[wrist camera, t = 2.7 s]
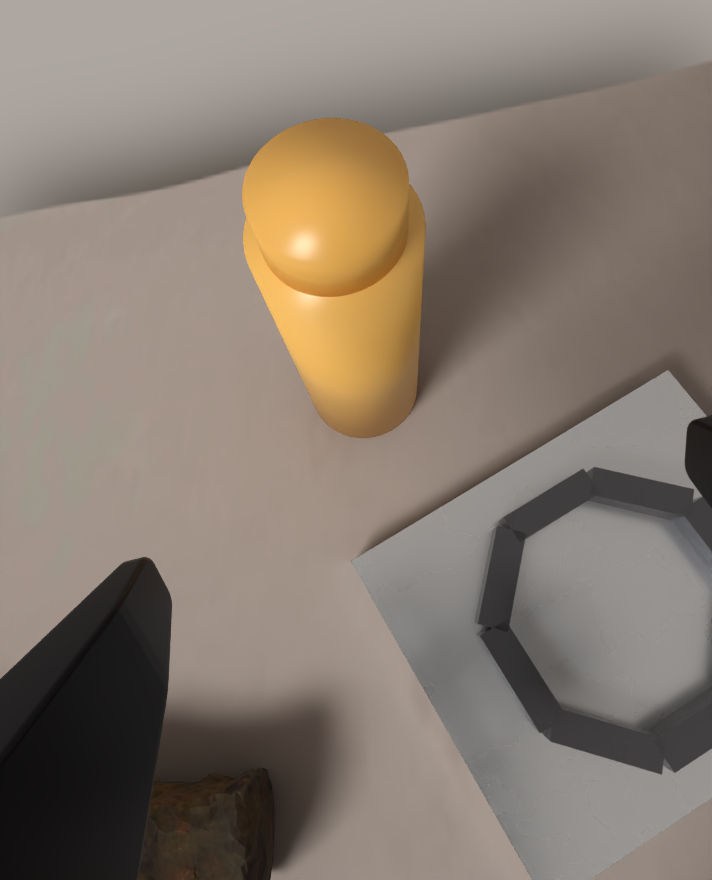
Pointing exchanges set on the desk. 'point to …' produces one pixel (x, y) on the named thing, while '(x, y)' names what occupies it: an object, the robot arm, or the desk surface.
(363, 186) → the domed yellow peg
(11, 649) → the desk surface
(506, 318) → the desk surface
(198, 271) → the desk surface
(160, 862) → the hand tool
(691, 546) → the plate
